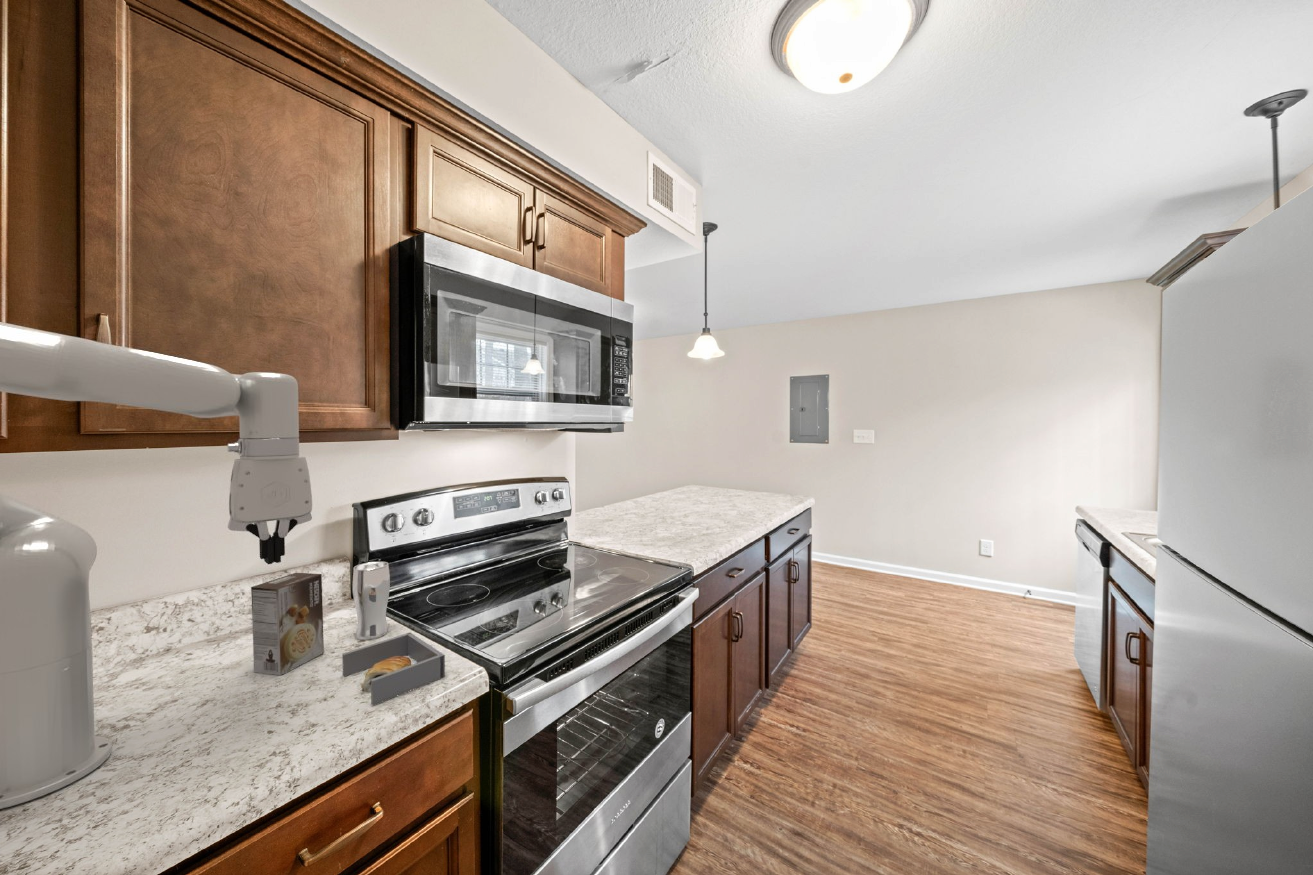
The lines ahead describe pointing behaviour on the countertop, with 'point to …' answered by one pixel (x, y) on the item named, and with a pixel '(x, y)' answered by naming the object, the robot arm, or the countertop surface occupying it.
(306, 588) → the coffee box
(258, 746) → the countertop surface
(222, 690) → the countertop surface
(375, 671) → the pastry
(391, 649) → the box
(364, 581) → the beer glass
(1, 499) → the robot arm
